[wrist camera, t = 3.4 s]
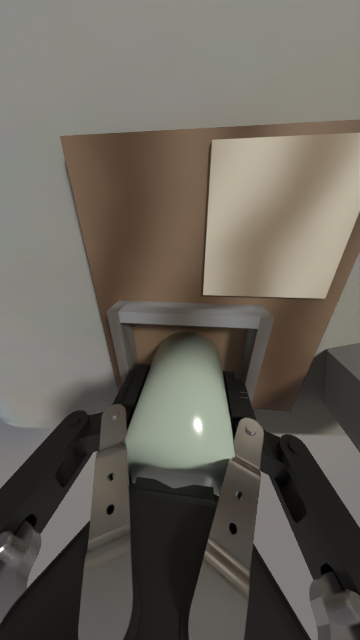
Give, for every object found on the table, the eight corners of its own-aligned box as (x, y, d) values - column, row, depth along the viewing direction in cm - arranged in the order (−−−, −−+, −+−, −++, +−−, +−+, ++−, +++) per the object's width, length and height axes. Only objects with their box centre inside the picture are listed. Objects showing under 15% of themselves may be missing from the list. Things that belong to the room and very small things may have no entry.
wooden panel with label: (395, 128, 9) (482, 82, 6) (285, 402, 18) (300, 432, 15) (72, 144, 10) (27, 114, 8) (123, 389, 19) (111, 414, 17)
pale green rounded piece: (224, 334, 14) (251, 445, 7) (213, 402, 17) (222, 520, 10) (154, 329, 14) (109, 428, 7) (157, 396, 18) (129, 506, 11)
